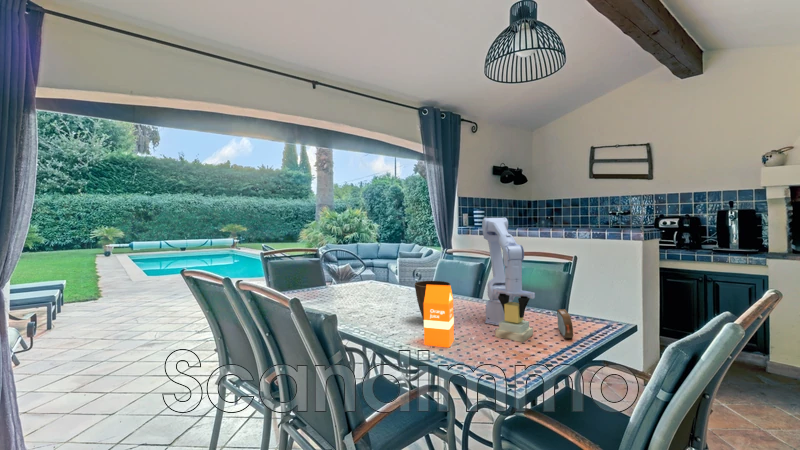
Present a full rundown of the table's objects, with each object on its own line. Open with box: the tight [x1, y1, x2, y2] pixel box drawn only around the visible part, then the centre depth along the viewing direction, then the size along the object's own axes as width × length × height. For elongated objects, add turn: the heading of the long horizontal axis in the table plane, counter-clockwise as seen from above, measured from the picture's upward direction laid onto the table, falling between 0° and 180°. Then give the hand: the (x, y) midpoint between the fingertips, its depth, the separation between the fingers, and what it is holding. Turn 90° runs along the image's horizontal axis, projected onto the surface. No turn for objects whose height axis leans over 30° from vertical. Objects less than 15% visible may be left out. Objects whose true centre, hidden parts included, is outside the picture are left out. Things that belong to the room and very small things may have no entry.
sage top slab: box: [498, 319, 530, 334], centre depth 128 cm, size 8×8×2 cm
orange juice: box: [423, 285, 455, 348], centre depth 123 cm, size 8×9×20 cm
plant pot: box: [414, 280, 451, 321], centre depth 148 cm, size 15×15×16 cm
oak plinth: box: [494, 326, 534, 343], centre depth 128 cm, size 10×10×2 cm
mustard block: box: [504, 301, 524, 323], centre depth 128 cm, size 5×5×6 cm
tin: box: [556, 308, 574, 339], centre depth 129 cm, size 15×3×8 cm, turn 166°
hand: (514, 315), depth 128 cm, fingers closed on mustard block, 5 cm apart
